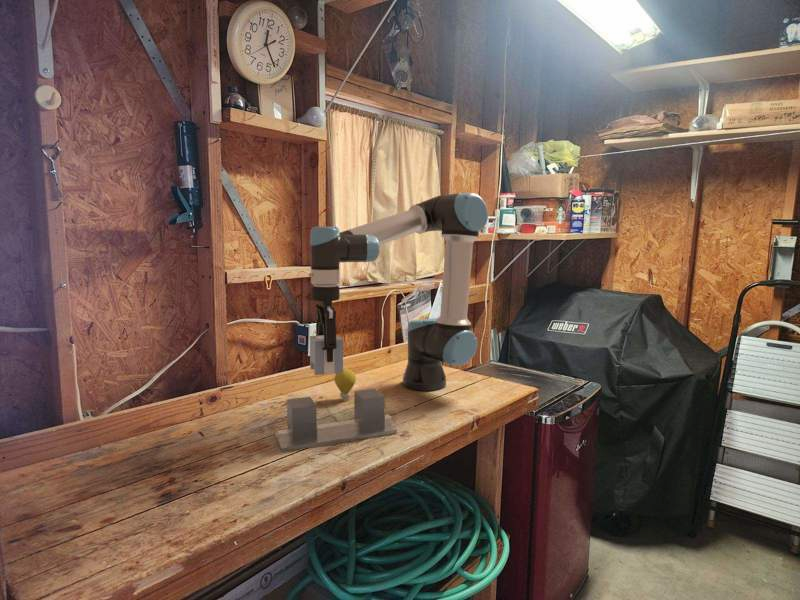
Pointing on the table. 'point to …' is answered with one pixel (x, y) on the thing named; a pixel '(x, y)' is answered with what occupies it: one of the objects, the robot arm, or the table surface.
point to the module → (318, 354)
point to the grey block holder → (310, 434)
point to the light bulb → (345, 383)
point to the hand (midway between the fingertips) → (326, 369)
